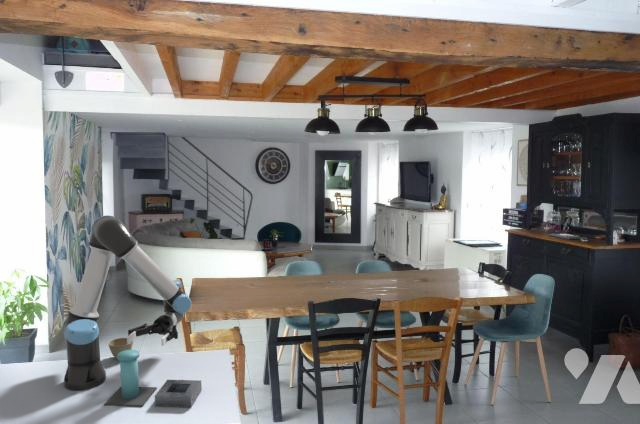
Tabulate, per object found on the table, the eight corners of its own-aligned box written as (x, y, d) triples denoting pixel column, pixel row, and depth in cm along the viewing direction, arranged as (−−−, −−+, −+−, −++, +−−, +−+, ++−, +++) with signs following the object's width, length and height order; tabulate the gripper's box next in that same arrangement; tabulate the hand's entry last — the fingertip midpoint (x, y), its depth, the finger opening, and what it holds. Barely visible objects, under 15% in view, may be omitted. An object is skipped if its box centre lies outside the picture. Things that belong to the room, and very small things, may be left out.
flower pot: (125, 363, 232) (125, 346, 231) (104, 361, 234) (103, 345, 233) (138, 353, 242) (137, 338, 241) (117, 352, 244) (116, 336, 243)
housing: (155, 406, 195) (154, 395, 194) (167, 389, 208) (167, 379, 207) (191, 407, 194) (190, 396, 193) (201, 390, 207) (201, 380, 206)
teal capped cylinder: (116, 399, 198) (113, 358, 196) (124, 389, 206) (122, 349, 203) (136, 400, 198) (134, 358, 195) (144, 390, 205) (142, 349, 203)
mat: (104, 405, 196) (103, 403, 195) (120, 387, 209) (120, 386, 209) (142, 406, 195) (142, 405, 194) (156, 388, 208) (156, 387, 208)
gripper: (193, 333, 232) (177, 352, 211) (136, 330, 234) (114, 349, 213) (193, 316, 231) (176, 333, 210) (136, 313, 233) (113, 330, 212)
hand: (145, 341), depth 211 cm, fingers open, 13 cm apart
